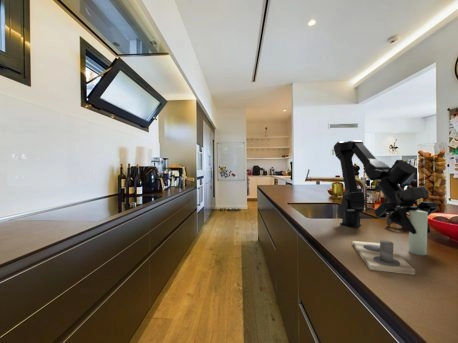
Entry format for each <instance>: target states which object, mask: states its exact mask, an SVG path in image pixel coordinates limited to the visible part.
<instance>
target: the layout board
mask: <svg viewBox="0 0 458 343" xmlns="http://www.w3.org/2000/svg"><path fill="white" fill-rule="evenodd" d="M351 243H352V245H353V247H354V250H356V252H357V253H358V255H359V256H360V258H361V259H362V261H364V263H365V264H366V266H367V267H368V269H369V270H371V271H378V272H390V273H395V274H397V273H398V274H404V275H405V274H406V275H414V276H415V275H416V269H415V268H413V266H411V265H410V264H409V263H408V262H407V261H406V260H404V259H403V257H401V256H400V255H399V254H398V253H397V252H395V251H394V243H393V242H392V241H389V240H380V241H379V242H372V241H371V242H370V241H369V242H368V241H360V240H359V241H358V240H352V242H351Z"/></svg>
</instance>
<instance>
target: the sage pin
mask: <svg viewBox="0 0 458 343" xmlns="http://www.w3.org/2000/svg"><path fill="white" fill-rule="evenodd" d="M408 214H409V220H410V222H411V223H412V225H413V226H414V228H415V230H416V234H412V233H411V232H409V231H408V252H409V253H410V254H413V255H417V256H427V254H428V252H427V251H428V234H427V221H428V220H429V219H428V217H429V216H428V212H425V211H418V210H410V211H409V213H408Z"/></svg>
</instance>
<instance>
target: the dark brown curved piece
mask: <svg viewBox="0 0 458 343" xmlns="http://www.w3.org/2000/svg"><path fill="white" fill-rule="evenodd" d="M389 217H390V216H389V215H388V216H386V218H384V219H385V220H386V225H387V227H390V226H391V225H393V224H394V225H397V224H396V223H395V222H393V221H391V220H388V218H389ZM407 217H408V219H409V213H407Z"/></svg>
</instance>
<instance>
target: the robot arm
mask: <svg viewBox="0 0 458 343" xmlns="http://www.w3.org/2000/svg"><path fill="white" fill-rule="evenodd" d="M333 150H334V151H333V152H334V155H335V157H336V158H337V159H338V160H339V161H340V167H341V173H342V178H343V185H344V192H343V195H342V201H341V202H340V204H339V205H338V211H340V212H342V213H341V215H342V216H341V217H342V218H341V219H342V220H341V221H342V222H340V223H339V224H340V225H342V226H346V227H350V228H356V227H357V228H358V227H360V226H362V224H361V216H360V213H363V212H364V209H365V206H366V199H365V193H364V192H363V191H361V190H360V189H358V185H357V179H356V175H355V174H356V173H355V168H354V163H353V157H354V155H355V156H356V157H357V159H358V160H359V162H361V163H362V165H363V166H364V173H365V175H366V176H367V178H368V180H369V181H379V182H378V183H375V187H374V191H377V192H379V191H381V193H382V194H383V196H384V198H385V199H383V201H384V202H381V203H380V205H379V206H378V207H377V208H376V209H375V210H374V215H375V216H376V218H377V219H378V220H379V219H385V218H386V217H388V216H390V217H388V220H391V221H393V222H395V223H396V224H395V223H394V224H395V225H399V226H400V227H401V228H403V229H405V230H406V231H408V233H409V232H411V233H412V234H416V230H415V228H414V226H413V225H412V223H411V222H410V220H409V219H408V217H407V214H409V211H410V210H418V211H425V212H428V217H429V216H430V215H432V214H433V213H434V212H435V211H437V210H438V209H439V206H438V205H437V204H436V202H434V201H420V202H419V203H418V200H421V199H425V198H426V199H427V197H428V196H429V194H430V193H429V190H428V189H427V188H426V187H425V186H421V185H420V186H418V187H409V188H405V189H403V188H402V187H401V185H404V184H406V183H407V182H408V181H409V180H410V179H411V178H412V177H413V176H414V175H415V174H416V172H417V168H416V167H415V166H414V165H412V164H410V163H409V162H407V161H404V160H403V159H396V160H395V161H394V164H392V166H391V167H390V166H389V165H388V164H386V163H385V162H383V161H381V160H378V159H377V158H376V156H374V155H373V154H372V152H371V151H370V150H369V149H368V148H367V147H366V146H365V145H364V141H362V140H357V139H355V140H354V139H353V140H348V141H337V142H336V143H334V145H333ZM417 203H418V204H417ZM416 204H417V205H416ZM387 214H388V216H387ZM430 233H431V228H430V224H429V222H428V221H427V235H428V234H430Z"/></svg>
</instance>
